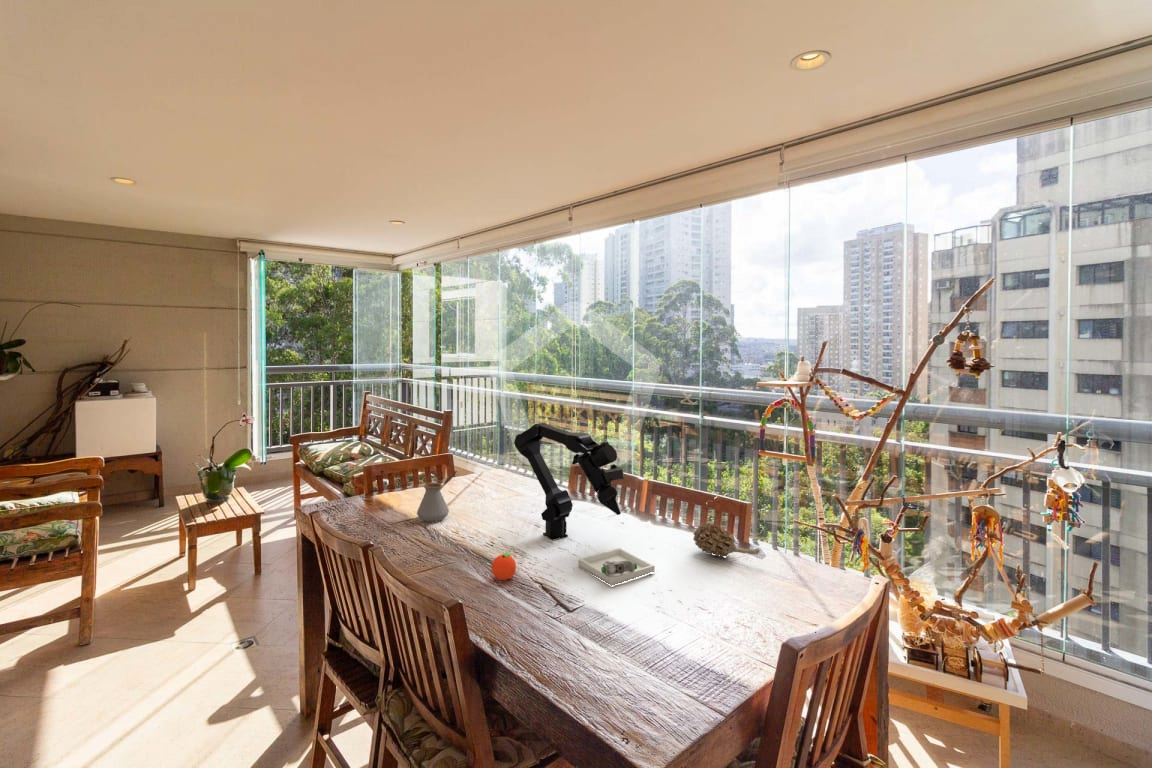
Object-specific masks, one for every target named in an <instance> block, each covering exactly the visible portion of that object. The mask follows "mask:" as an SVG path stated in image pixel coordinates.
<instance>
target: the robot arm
mask: <svg viewBox="0 0 1152 768" xmlns="http://www.w3.org/2000/svg"><path fill="white" fill-rule="evenodd" d="M543 438H545V439H549V440H550V441H554V442H557V443H559V444H562V445H563V446H565V448H566V449H567V450H569V451H570V452H572V453H573V454H575V455H573V458H572V462H571V464H572V465H576V464H578V466H579V467H580V468H581V471H582V473H583V474H584V475H585V477H586V478H587V479H586V480H587V481H588V482H589V484H590V485H591V487H592V488H593V490H594V492H595V493H596V498H597V500H598V501H599V503H600V504H601V505H603V506H605V507H606V508H607V509H609V510H610V511H612V512H613V513H614V514H616V515H617V516H620V514H621V513H622V512H621V511H620V510H621V509H620V507H619V504H618V501H617V496H618V491H617V489H616V488H615V486H614V485H613V483H612V481H616V480H618V481H619V480H624V479H625V473H624V468H623V467H622V466H617V464H615V463H614V462H616V461H617V459H618V454H617V453H618V452H617V450H616V449H615V448H614V447H613V446H612V445H611V444H610V443H609V441H608V440H607V441H603V442H601V443H598V442H597V441H596V440H594V439H593V438H592V436H591V434H589V433H587V432H586V433H585V432H572V431H571V432H570V431H568V430H565V429H562V428H559V427H555V426H553V425H551V424H547V423H546V422H538V423H535V424H533V425H532V426H531V427H530V428H528V429H526V430H524V431H523V432H521V433H518V434H517V435H516V436H515V438H514V441H513V443H514V447H515V448H516V450H517V451H518V452H519V453H518V454H520V455H521V456H523V457H524V458H525V459H527V461H528V462H529V464H530V467H531V468H532V471H533V472H534V474H535V476H536V479H537V480H538V482H539V484H540V486H541V488H542V491H543V493H544V494H545V501H544V502H545V506H546V509H544V511H542V512H541V518H542V521H545V532H543V533H542V535H543V536H545V537H546V536H547V537H546V538H548V539H550V540H551V539H552V540H551V541H554V539H556V540H559V538H560V539H563V537H564V538H567V537H569V535H568V534H567V521H566V518H569V517H570V514H571V512H572V510H573V505H574V504H573V499H572V498H571V497H570V494H569V492H568V490H566V489H564V490H562V489H560V488H559V486H558V485H557V483H556V481H555V479H554V476H553V475H552V473H551V471H550V469H549V467H548V464H547V463H546V461H545V460H544V457H543V455H542V453H541V442H540V441H541V440H542V439H543ZM579 453H581V454H579ZM609 464H610V465H609ZM607 465H609V466H610V467H609V468H608V469H604V468H603V467H604V466H607Z"/></svg>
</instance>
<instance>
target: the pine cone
mask: <svg viewBox="0 0 1152 768" xmlns="http://www.w3.org/2000/svg"><path fill="white" fill-rule="evenodd" d="M693 535H694V536H693V541H694V543H695V544H694V545H695V546H697V547H698V549H700V550H702V552H703V551H705V552H704V553H705V554H707V553H710V554H711V553H713V554H715V555H714V556H715V557H716V556H719V555H721V556H719V557H722V556H727V555H728V556H729V554H732V553H740V554H746V555H747V554H748V555H757V556H758V555H759V554H760V552H761V550H760V548H759V547H757V548H755V549H745V548H739V547H737V546H736V544H735V536H734V535H733V534H732V533H730V531H729V530H725V528H724V527H721V526H720V525H719V524H715V523H710V522H708V523H705V522H704V523H702V524H699V525H698V527H696V530H695V531H693ZM728 556H727V557H728Z"/></svg>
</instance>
